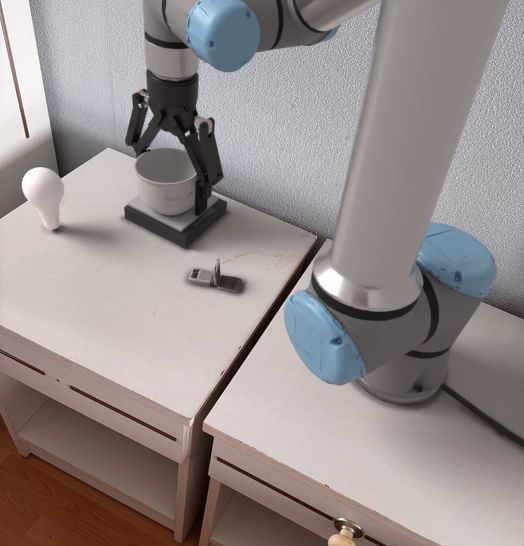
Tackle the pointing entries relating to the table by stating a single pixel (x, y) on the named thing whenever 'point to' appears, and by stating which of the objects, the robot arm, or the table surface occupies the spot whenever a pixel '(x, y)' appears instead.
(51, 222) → the lightbulb
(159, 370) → the table surface
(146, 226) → the scale
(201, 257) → the table surface
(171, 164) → the teacup
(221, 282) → the strap clip
